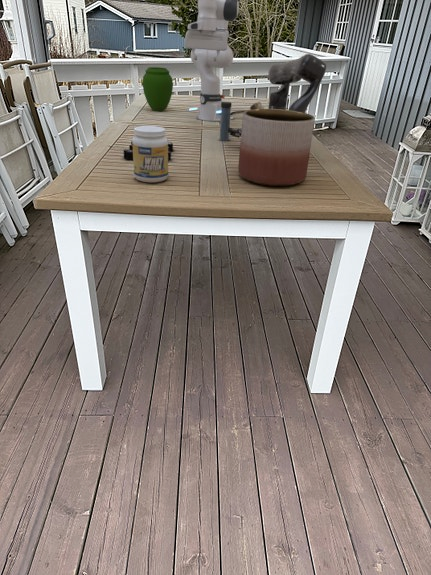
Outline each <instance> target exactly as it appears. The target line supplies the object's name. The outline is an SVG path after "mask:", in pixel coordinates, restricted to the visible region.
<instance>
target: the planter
mask: <svg viewBox="0 0 431 575" xmlns="http://www.w3.org/2000/svg"><path fill="white" fill-rule="evenodd" d="M244 111H245V112H242V121H241V128H242V132H241V131H240V133H241V137H240V144H239V145H240V146H239V156H238V166H237V168H238V169H237V170H238V171H237V172H238V174H239V175H240V177H241V178H243V179H245V181H248V182H251V183H254V184H256V185H262V186H269V187H288V186H295V185H297V184H300V183H302V182H303V181H305V179H306V177H307V174H308V167H309V161H310V154H311V146H312V140H313V134H314V128H315V121H316V116H314V115H312V114H310V113H306V112H305V113H303V112H298V111H291V110H288V109H286V110H282V109H268V108H264V109H252V110H250V109H247V110H244Z"/></svg>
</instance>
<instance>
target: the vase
mask: <svg viewBox="0 0 431 575" xmlns="http://www.w3.org/2000/svg"><path fill="white" fill-rule="evenodd" d="M141 84H142V89H143V94H144V97H145V100H146V102H147V104H148V107H149V108H150V109H151V110H152V111H154V112H164V111H165V110H166V109H167V108H168V106H169V104H170V102H171V99H172V95H173V88H174V82H173V77H172V76H171V74H170V70H169V69H167V67H155V66H154V67H151V66H149V67H148V68H147V69H145V73H144V74H143V76H142V81H141Z"/></svg>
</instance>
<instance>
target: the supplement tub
mask: <svg viewBox="0 0 431 575" xmlns="http://www.w3.org/2000/svg"><path fill="white" fill-rule="evenodd" d="M133 130H134V131H133V134H134V136H133V137H132V140H131V141H132V145H133V160H132V161H133V176H134V178H135V179H136V180H138V181H139V182H143V183H161V182H164V181H166V180H167V179H168V177H169V160H168V142H169V141H168V138H167V137H166V128H164V127H162V126H157V125H139V126H136V127H134V128H133Z"/></svg>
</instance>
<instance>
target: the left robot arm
mask: <svg viewBox="0 0 431 575" xmlns="http://www.w3.org/2000/svg"><path fill="white" fill-rule="evenodd" d="M240 1H241V0H197V13H198V14H197V20H196V21H193V22H191V23H188V24H187V31H186V33H185V36H184V48H185V49H191V52H190V59H191V62H192V63H193V65H194V66H195V67H196V68H197V71H198V73H199V76H200V94H199V102H200V104H199V111H198V116H197V119H198V120H201V121H209V122H221V108H222V107H221V102H223V101H222V99H223V100H225V98H226V96H225V94H221V80H220V77H219V76H218V75H217V74H215V72H214V70H213V68H215V69H225V68H229V67H230V66H231V65H232V63H233V60H234V53H233V51H232V48H231V47H230V46H229V44H228V39H229V37H230V32H229V29H228V27H229V22H232V23H233V21H235V20H236V19H237V18H238V15H239V12H240V5H239V4H240ZM188 109H189V111H193V110H198V107H193V108H192V107H191V108H188ZM245 111H246V110H235V111H231V112H230V120H234V117H233V116H232V115H233V114H239V113H240V114H241V113H243V112H245Z"/></svg>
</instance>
